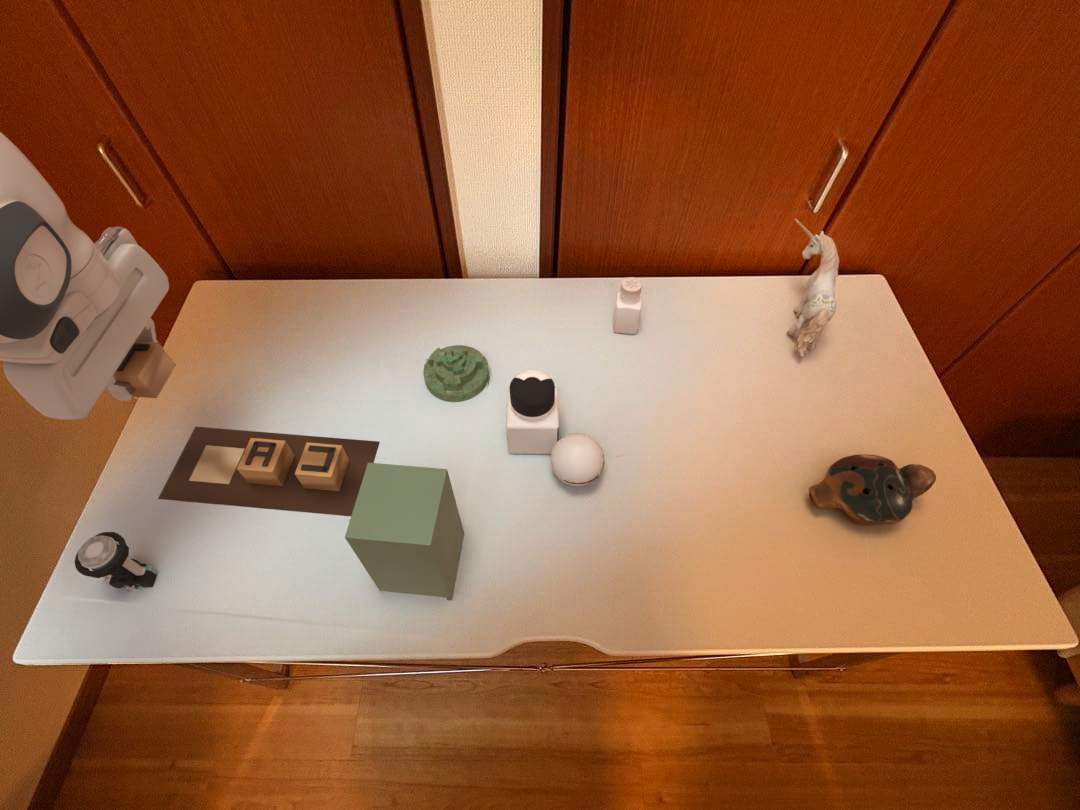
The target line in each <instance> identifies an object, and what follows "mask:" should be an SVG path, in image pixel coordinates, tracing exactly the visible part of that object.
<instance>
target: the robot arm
mask: <svg viewBox="0 0 1080 810" xmlns="http://www.w3.org/2000/svg"><path fill="white" fill-rule="evenodd" d="M169 290H170V282H169V277H168V276H167V273H166V272H165V271H164V270H163V269H162V267H161V266H160V265H159V263H158V262H156V260H155V259H154V258H153V257H152V256H151V255H150V254H149V253H148V251H146V250H145V249H144V248H143V247H141V246H140V245H139V244H138V242H137V241H136V239H135V237H134V236H133V235H132V233H131V232H130V230H128V229H127V228H124V227H123V226H114V227H111V226H109V227H107V228H106V229H105V230H103V232H102V233H101V235H100V237H99V239H98V240H96V242H93V240H92V239H91V238H90V237H89V236H88V234H87V233H86V232H84V231H83V230H82V229H80V227H78V226H76V225H75V224H74V222H73V221H72V220H71V219H70V217H69V215H68V212H67V209H66V206H65V205H64V203H63V201H62V199H61V197H60V196H59V195H58V194H57V193H56V191H55V190H54V188H53V187H52V186H51V185H50V183H49V182H48V181H47V180H46V179H45V177H44V176H43V175H42V174H41V172H39V170H38V169H37V168H36V166H35V165H34V164H33V163H32V162H31V161H30V159H28V157H27V156H26V155H25V154H24V153H23V152H22V151H21V149H19V147H17V146H16V144H15V143H14V142H12V141H11V140H10V139H9V138H8V137H7V136H6V135H5V134H3V132H1V131H0V362H3V372H4V375H5V377H6V379H7V381H8V382H9V383H10V385H11V386H12V387H13V388H14V389H15V390H16V391H17V393H18V394H19V395H20V396H21V397H22V398H23V399H24V400H25V401H26V402H28V404H29V405H30V406H31V407H33V408H34V409H35V410H36V411H37V412H39V413H40V414H41V415H42V416H44V417H47V418H50V419H55V420H63V421H64V420H65V421H74V420H83V419H85V418H87V416H89V414H90V412H91V411H92V409H93V407H94V406H95V405H96V402H97V401H98V400H99V398H100V397H101V395H102V394H103V392H105V393H106V392H107V393H109V394H110V396H112V397H113V398H114V399H115V400H117V401H120V402H121V401H122V402H130V401H131V400H132V398H133V397H132V396H133V395H134V393H135V391H136V389H135V388H133V386H132V385H131V384H130V383H129V382H120V381H116V380H115V378H114V377H113V375H114V373H115V372H116V370H117V369H118V367H119V366H120V364H121V363H122V361H123V360H124V358H125V356H126V355H127V353H128V352H129V350H130V349H131V347H132V346H133V344H134V343H135V341H144V342H158V343H160V342H159V341H158V340H157V333H156V327H155V321H154V320H153V319H152V316H153V315H154V313H155V312H156V310H157V309H158V307H159V305H160V304H161V303H162V301H163V299H164V298H165V296H166V295H167V294H168V292H169Z"/></svg>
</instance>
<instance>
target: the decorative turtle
mask: <svg viewBox="0 0 1080 810" xmlns="http://www.w3.org/2000/svg"><path fill="white" fill-rule="evenodd" d="M936 480H937V473H935V471H934V470H932V469H931V468H930V467H927V466H925V465H923V464H919V463H918V464H917V463H910V464H907V465H904V466H902V467H900V468H899V466H897V465H896V464H895V462H894V461H893V460H891V459H890V458H887V457H884V456H882V455H877V454H867V453H865V454H863V453H861V454H852V455H848V456H844V457H841V458H840V459H838V460H836V461H835V462H833V463H831V465H830V466H829V468H828V469H827V470H826V473H825V475H824V478H823V480H822V481H820V482H818V483H815V484H814V485H810V486H809V488H808V493H809V495H808V496H809V500H810V502H811V504H812V505H813V507H814V508H817V509H832V508H833V509H840V510H842V511H843V512H844V513H845V514H846V515H848V518H849V521H850V522H851V523H852V524H854V525H858V526H877V525H878V526H879V525H890V524H895V523H899V522H901V521H903V520H905V519H906V518H907V517H908V516H909V515H910V513H911V511H912V510H913V500H914V499H916V498H918V497H920V496H922V495H923V494H925V493H926V492H928V491H929V490H930V489H931V488H932V487H933V485H934V484H935V483H936Z"/></svg>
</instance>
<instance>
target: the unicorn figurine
mask: <svg viewBox="0 0 1080 810" xmlns="http://www.w3.org/2000/svg"><path fill="white" fill-rule="evenodd" d="M794 221H795V223H796V224H797V226H798V227H799V228H800V229H801V230H802V231H803V233H805V235H806V236H807V238H808V239H809V240H810V241H809V242H808V245H806V246H805V247H804V250H803V251H802V252H801V254H802V258H803V259H804V260H810V259H811V257H813V256H816V255H817V256H818V255H820V262H819V266H818V268H817V269H816V270H815V271H814V272H813V273H811V275H810V276H809V278H808V279H807V281H806V289H805V292H804V293H805V294H804V295H803V296H802V299H801V302H800V304H799V305H798V306H797V307H795V308H794V309H793V313H794V314H796V318H798V321H797V322H796V323H794V324H792V326H791V327H790V328H789V329H788V331H787V333H786V335H790V336H792V337H795V336H796V333H797V332H798V331H799V330H801V329H802V328H803V327H804V324H805V322H807V321H808V320H810V321H809V322H808V325H807V326H806V327H805V328H803V329H802V330H801V332H800V334H799V335H798V337H797V339H796V342H795V343H794V345H793V349H794V351H795V350H797V352H798V355H799V356H800V357H802V358H803V357H804V356H805V354H804V353H805V352H806V351H807V350H809V351H813V350H814V349H815V348H816V346H815V345H816V344H817V343H816V342H817V340H818V339H819V337H820V336H821V334H822V333H823V331H824V330H825V328H826V326H827V323H829V322H830V321H831V320H832V318H833V317H834V316H835V314H836V309H837V301H836V299H835V297H836V290H835V289H836V288H835V287H836V279H837V278H838V277H839V266H840V257H839V253H838V249H837V245H836V244H835V241H834V239H833V238H832V237H830V236H828V235H827V234H825V233H824V230H821V231H820V233H819V234H813V233H812V232H811V231H810V230H808V228H806V226H804V224H802V222H801V221H799V220H798V219H797V218H794Z"/></svg>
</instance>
